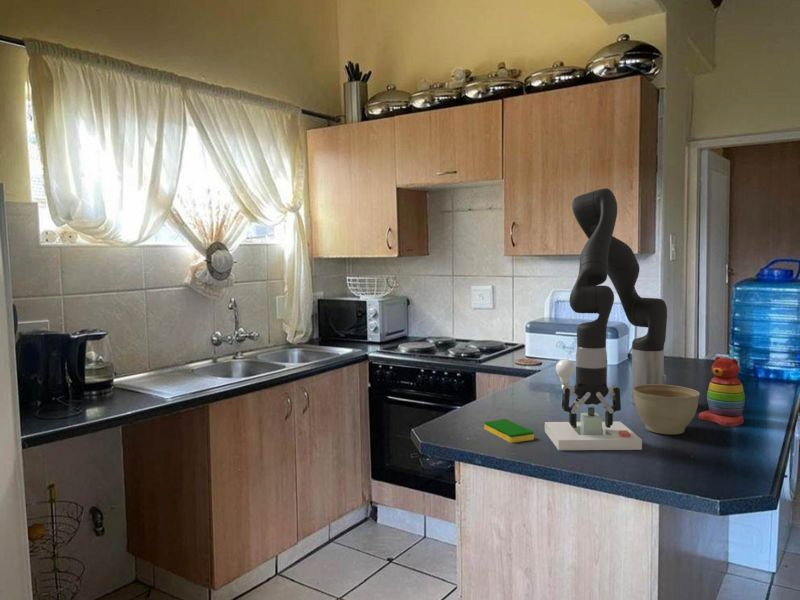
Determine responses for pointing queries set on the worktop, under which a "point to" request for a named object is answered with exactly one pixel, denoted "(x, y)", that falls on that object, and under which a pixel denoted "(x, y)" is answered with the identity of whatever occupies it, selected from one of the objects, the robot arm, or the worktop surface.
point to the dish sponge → (509, 430)
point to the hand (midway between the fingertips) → (590, 427)
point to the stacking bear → (725, 394)
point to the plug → (590, 423)
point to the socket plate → (592, 437)
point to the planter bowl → (666, 407)
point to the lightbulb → (565, 371)
